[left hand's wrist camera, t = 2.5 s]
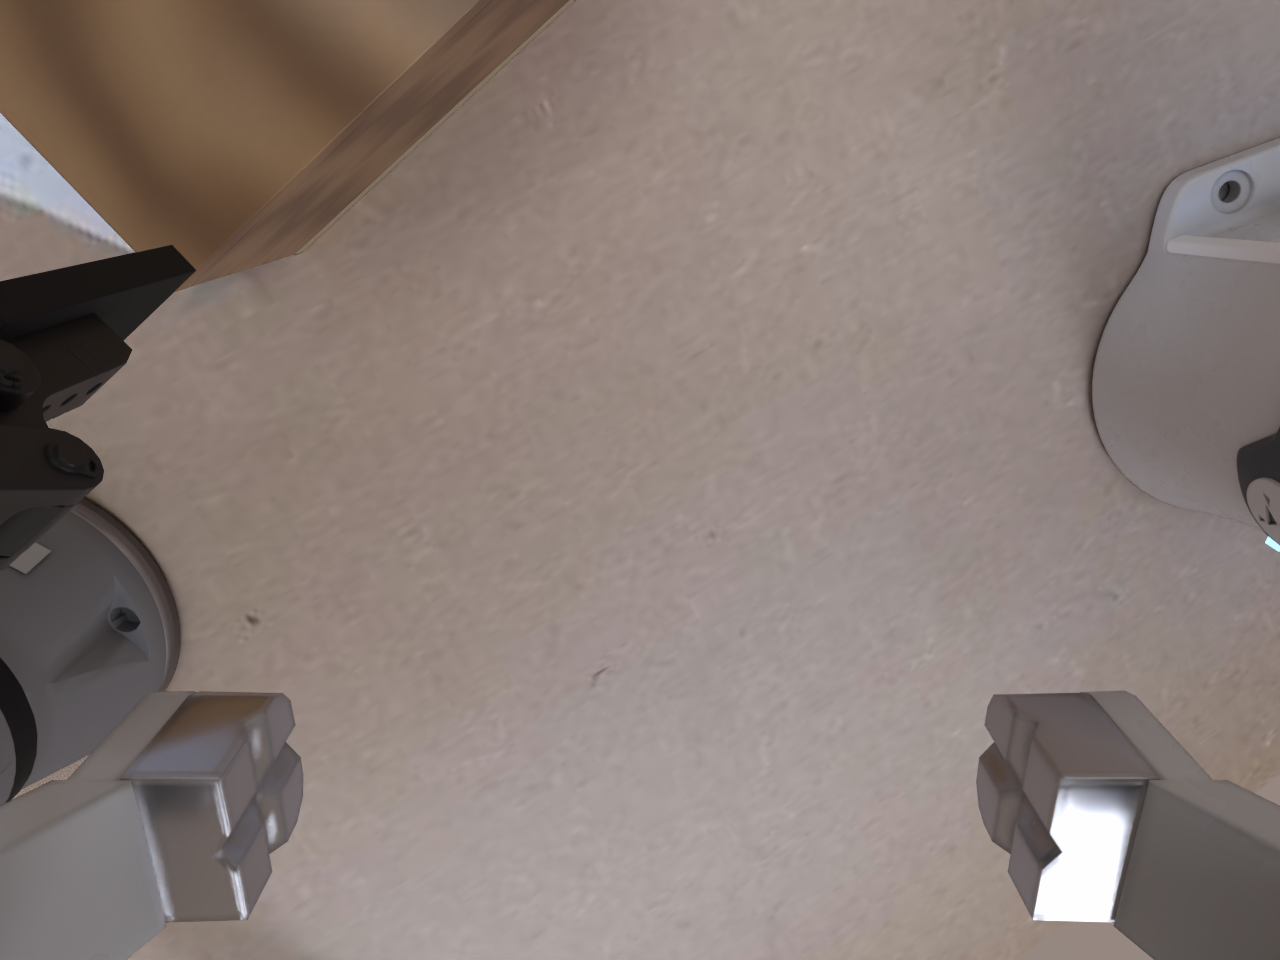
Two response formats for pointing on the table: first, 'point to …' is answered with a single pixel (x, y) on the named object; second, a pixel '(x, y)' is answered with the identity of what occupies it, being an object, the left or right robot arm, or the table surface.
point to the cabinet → (243, 107)
